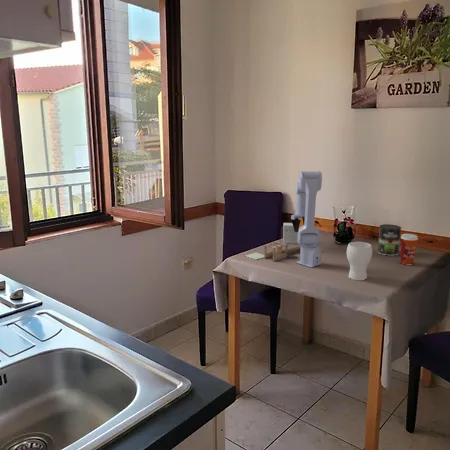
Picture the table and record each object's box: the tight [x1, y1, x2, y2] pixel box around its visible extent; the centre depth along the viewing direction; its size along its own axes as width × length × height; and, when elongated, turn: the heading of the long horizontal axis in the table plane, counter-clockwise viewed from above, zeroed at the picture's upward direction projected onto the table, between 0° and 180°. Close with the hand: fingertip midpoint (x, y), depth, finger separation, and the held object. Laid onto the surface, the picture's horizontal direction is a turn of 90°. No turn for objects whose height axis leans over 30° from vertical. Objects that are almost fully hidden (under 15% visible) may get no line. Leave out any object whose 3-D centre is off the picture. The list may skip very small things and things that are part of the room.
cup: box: [346, 241, 373, 281], centre depth 198 cm, size 11×11×15 cm
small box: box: [282, 222, 298, 245], centre depth 254 cm, size 8×6×10 cm
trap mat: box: [286, 254, 299, 260], centre depth 228 cm, size 4×4×1 cm
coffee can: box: [377, 223, 402, 257], centre depth 233 cm, size 10×10×14 cm
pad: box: [244, 252, 265, 261], centre depth 230 cm, size 8×8×1 cm
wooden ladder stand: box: [263, 241, 289, 262], centre depth 227 cm, size 6×10×7 cm, turn 131°
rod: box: [282, 245, 301, 256], centre depth 236 cm, size 2×18×2 cm, turn 124°
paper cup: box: [400, 233, 419, 265], centre depth 216 cm, size 8×8×14 cm
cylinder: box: [273, 244, 283, 255], centre depth 228 cm, size 4×4×6 cm
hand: (300, 230), depth 242 cm, fingers open, 7 cm apart
